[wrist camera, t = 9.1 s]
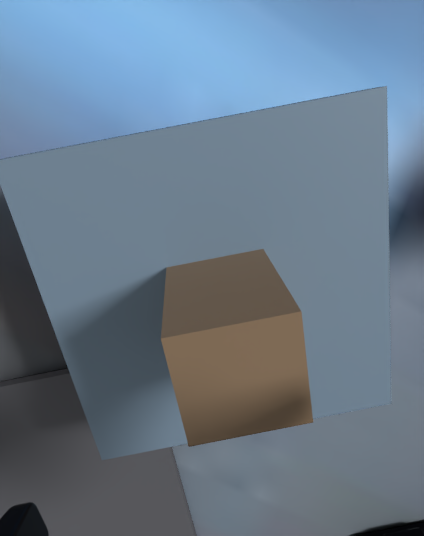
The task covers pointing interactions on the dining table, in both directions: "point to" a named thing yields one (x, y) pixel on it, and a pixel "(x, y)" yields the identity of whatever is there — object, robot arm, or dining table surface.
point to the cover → (216, 270)
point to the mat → (81, 468)
